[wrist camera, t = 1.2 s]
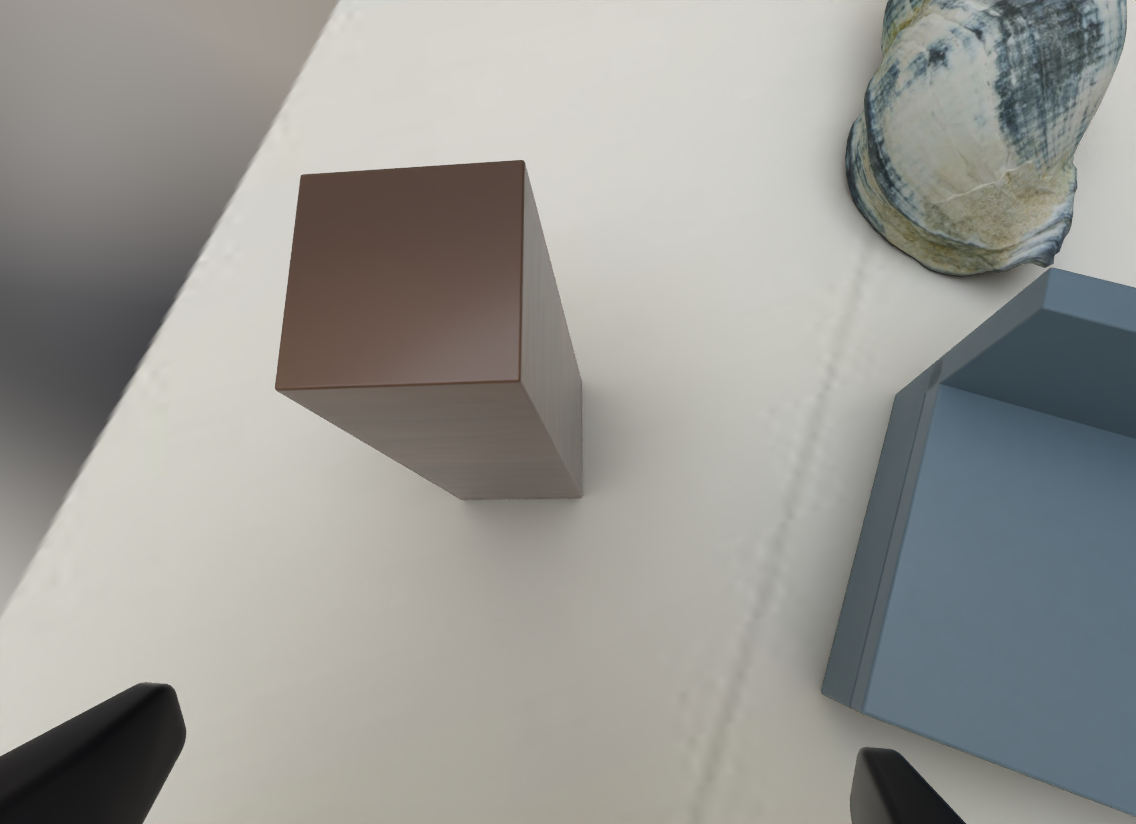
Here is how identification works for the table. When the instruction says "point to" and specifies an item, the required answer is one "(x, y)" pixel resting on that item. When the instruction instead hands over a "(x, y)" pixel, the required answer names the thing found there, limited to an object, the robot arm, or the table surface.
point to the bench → (1009, 547)
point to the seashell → (981, 126)
